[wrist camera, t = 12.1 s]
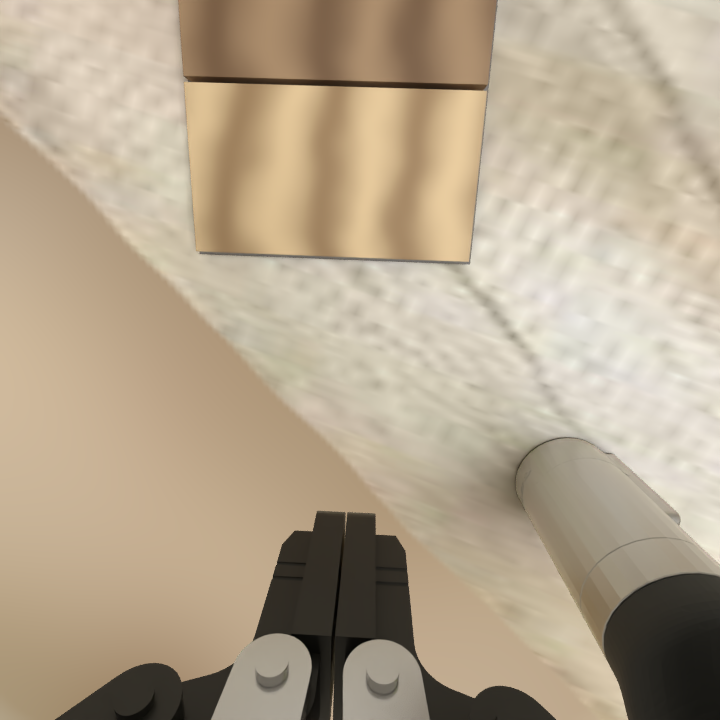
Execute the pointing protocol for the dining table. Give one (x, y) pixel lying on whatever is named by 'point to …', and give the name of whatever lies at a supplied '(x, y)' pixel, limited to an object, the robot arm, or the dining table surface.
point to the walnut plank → (339, 42)
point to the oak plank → (334, 170)
